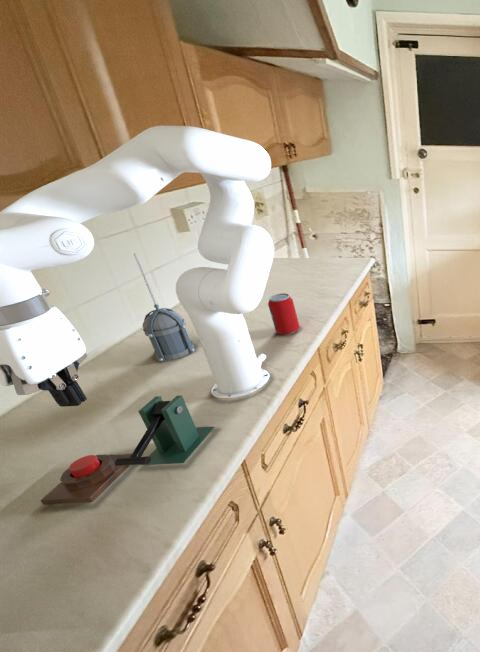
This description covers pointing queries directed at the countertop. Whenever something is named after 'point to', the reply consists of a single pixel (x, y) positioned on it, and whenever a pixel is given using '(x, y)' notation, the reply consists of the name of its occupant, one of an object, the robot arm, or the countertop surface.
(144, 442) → the switch lever
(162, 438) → the switch bracket
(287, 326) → the beverage can
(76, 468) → the red button
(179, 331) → the lantern
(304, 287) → the countertop surface
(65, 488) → the control block
